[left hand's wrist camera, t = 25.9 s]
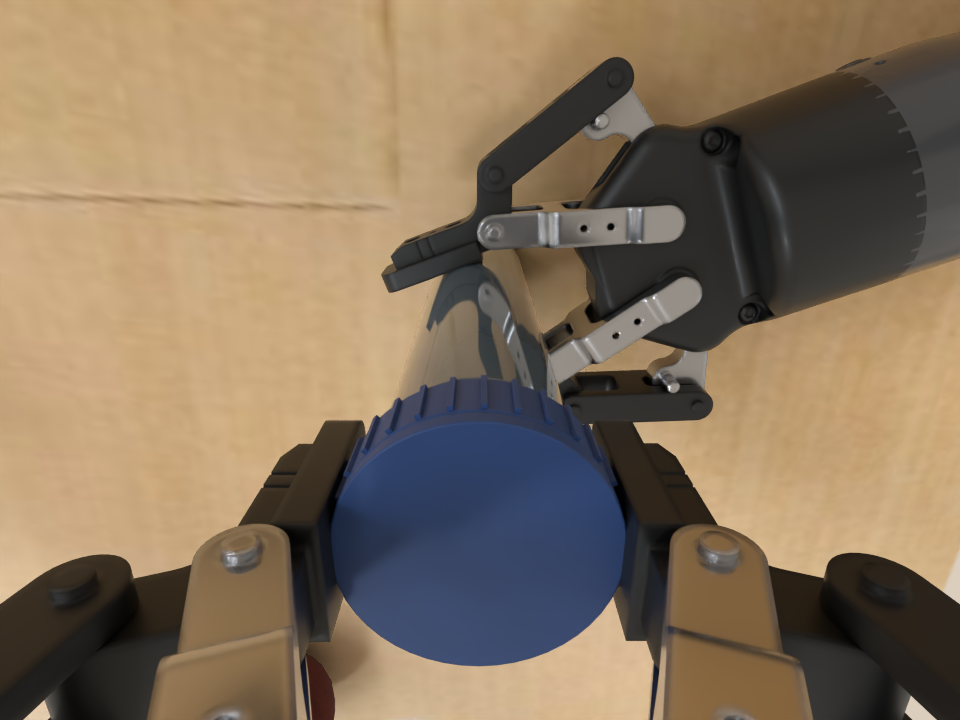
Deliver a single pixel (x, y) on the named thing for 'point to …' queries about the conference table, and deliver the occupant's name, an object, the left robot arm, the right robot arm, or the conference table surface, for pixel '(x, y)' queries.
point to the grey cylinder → (480, 330)
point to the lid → (478, 524)
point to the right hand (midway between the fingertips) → (414, 335)
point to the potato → (320, 691)
